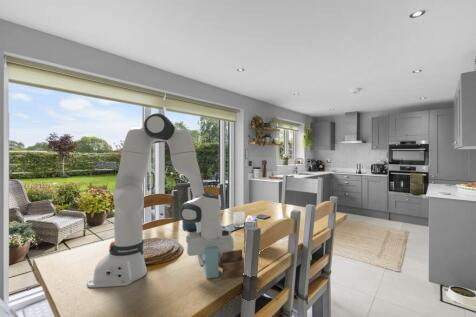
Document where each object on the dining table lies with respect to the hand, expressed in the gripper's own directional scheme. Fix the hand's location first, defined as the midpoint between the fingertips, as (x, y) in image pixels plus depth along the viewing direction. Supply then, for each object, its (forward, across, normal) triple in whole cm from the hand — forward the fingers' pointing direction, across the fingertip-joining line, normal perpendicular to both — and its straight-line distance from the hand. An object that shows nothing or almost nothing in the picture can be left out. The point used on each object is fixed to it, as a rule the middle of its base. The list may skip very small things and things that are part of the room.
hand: (210, 262), depth 105 cm
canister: (+5, -2, +66) cm, 66 cm away
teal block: (+4, 0, 0) cm, 4 cm away
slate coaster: (+4, +1, +14) cm, 15 cm away
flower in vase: (+5, -2, +33) cm, 33 cm away
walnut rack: (+4, +10, 0) cm, 11 cm away
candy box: (+5, +26, +21) cm, 34 cm away
